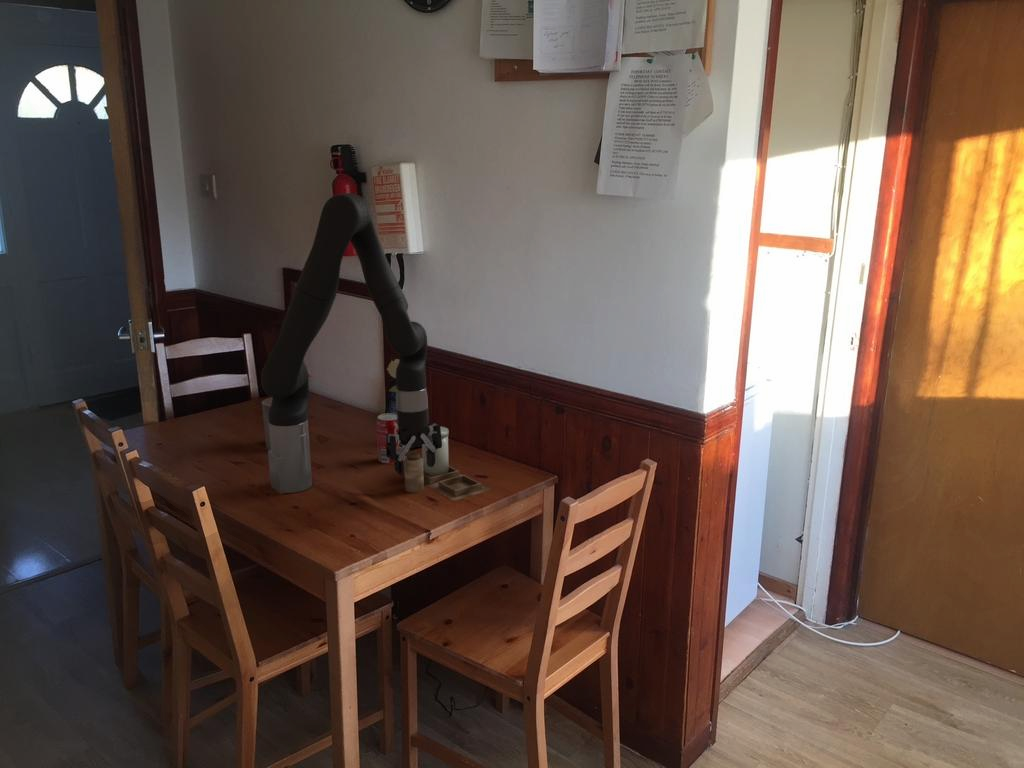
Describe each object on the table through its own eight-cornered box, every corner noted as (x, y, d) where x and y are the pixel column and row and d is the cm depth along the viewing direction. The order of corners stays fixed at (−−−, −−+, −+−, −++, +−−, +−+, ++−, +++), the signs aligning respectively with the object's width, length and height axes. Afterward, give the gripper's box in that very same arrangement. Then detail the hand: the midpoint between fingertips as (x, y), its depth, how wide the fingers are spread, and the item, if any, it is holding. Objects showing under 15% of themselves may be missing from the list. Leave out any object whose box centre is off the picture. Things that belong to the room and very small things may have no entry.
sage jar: (431, 482, 210) (430, 436, 207) (416, 474, 216) (415, 429, 213) (454, 476, 214) (454, 431, 211) (439, 468, 220) (438, 424, 217)
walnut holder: (453, 504, 199) (453, 494, 199) (406, 477, 216) (405, 468, 216) (491, 493, 206) (491, 484, 205) (442, 468, 223) (442, 459, 222)
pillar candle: (296, 438, 246) (291, 389, 242) (305, 448, 238) (300, 397, 234) (262, 444, 241) (257, 394, 237) (270, 454, 233) (265, 402, 229)
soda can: (399, 468, 223) (398, 421, 220) (374, 466, 224) (371, 419, 221) (408, 458, 230) (406, 413, 226) (383, 457, 231) (381, 411, 228)
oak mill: (411, 497, 204) (410, 458, 201) (402, 492, 207) (400, 452, 204) (427, 493, 206) (426, 454, 204) (417, 487, 210) (416, 449, 207)
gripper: (394, 415, 194) (398, 481, 198) (446, 404, 202) (448, 467, 206) (378, 408, 200) (382, 472, 204) (429, 397, 208) (432, 459, 212)
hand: (415, 470), depth 205 cm, fingers open, 8 cm apart
